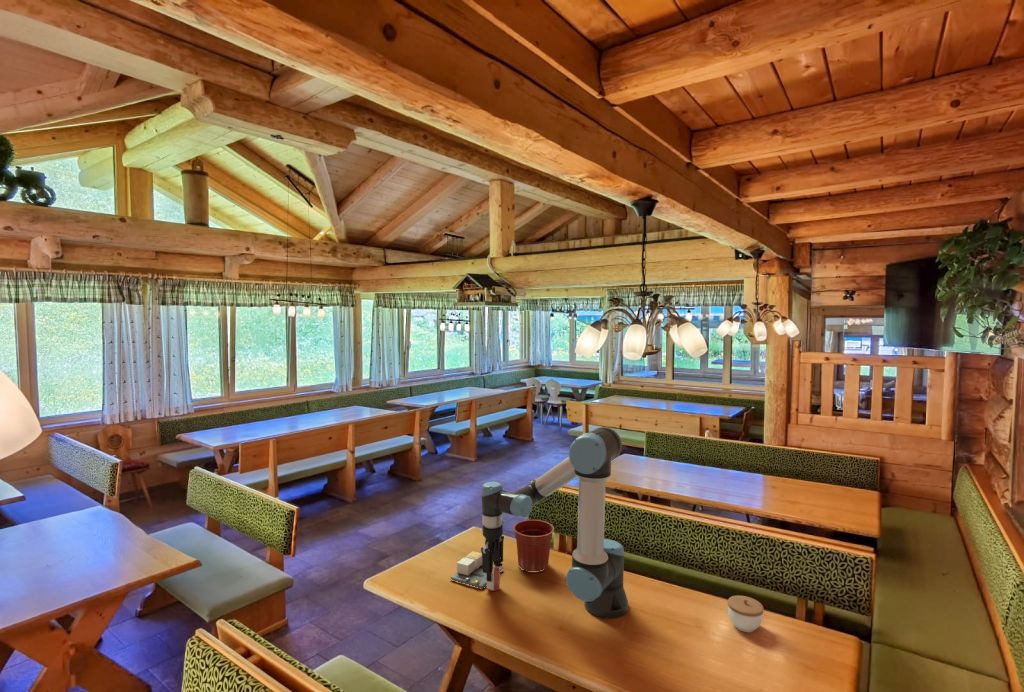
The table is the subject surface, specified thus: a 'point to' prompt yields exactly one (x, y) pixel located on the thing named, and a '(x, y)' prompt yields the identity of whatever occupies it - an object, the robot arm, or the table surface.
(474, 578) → the panel
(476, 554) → the block
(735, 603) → the lidded jar
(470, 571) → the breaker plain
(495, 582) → the lockout cap
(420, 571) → the table surface
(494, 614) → the table surface
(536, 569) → the flower pot
